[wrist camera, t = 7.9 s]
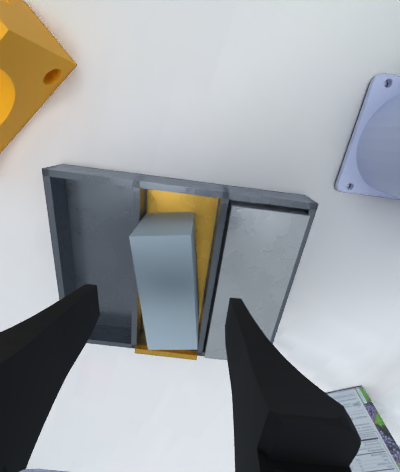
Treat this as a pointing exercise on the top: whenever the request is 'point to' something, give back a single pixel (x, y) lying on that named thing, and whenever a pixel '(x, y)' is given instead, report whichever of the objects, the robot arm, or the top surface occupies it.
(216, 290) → the grey compartment tray
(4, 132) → the pipe clamp
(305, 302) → the top surface
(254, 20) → the top surface
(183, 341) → the tall blue-grey block
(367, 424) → the syrup box
